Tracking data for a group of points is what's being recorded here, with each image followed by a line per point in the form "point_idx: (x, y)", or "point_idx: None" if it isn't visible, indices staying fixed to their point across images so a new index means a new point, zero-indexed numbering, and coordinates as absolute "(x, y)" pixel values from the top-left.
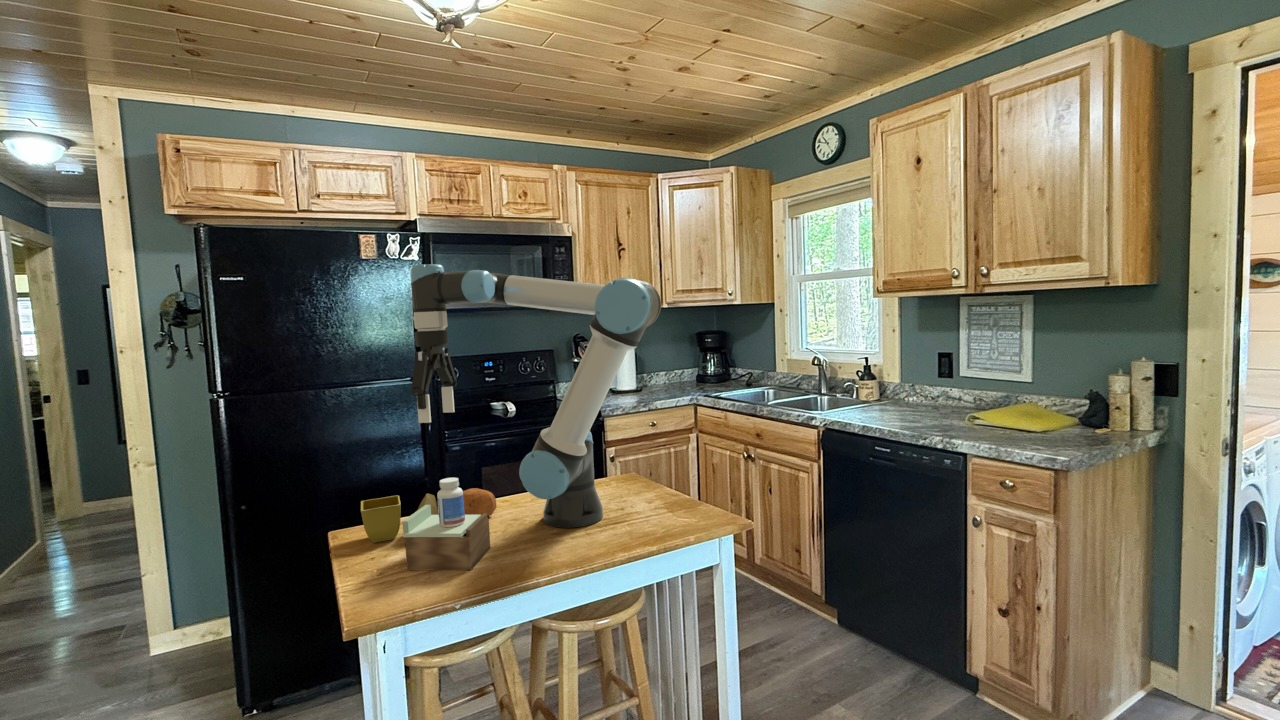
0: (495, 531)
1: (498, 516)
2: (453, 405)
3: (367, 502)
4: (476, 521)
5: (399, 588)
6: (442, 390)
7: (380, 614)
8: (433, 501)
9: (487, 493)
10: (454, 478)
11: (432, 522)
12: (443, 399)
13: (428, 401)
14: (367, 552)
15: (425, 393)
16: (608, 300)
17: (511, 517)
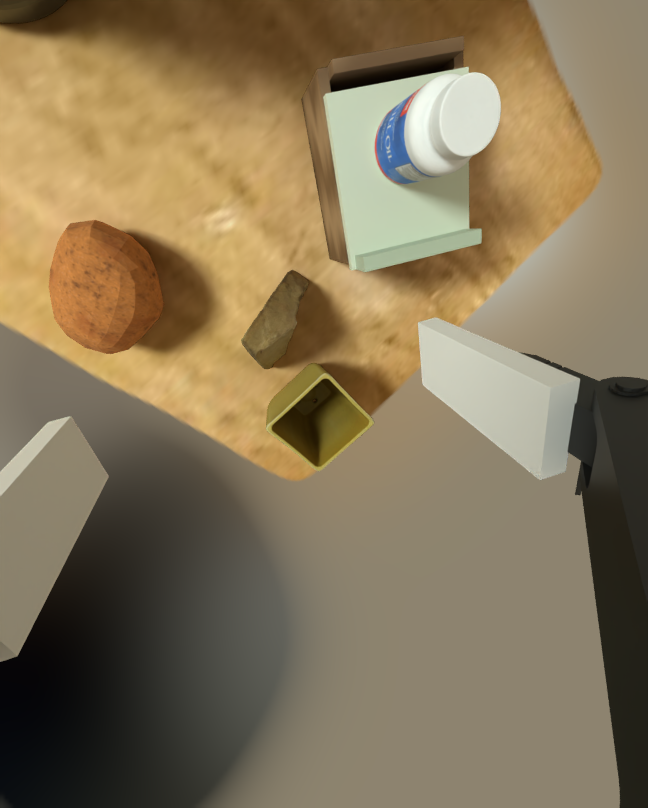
0: (197, 154)
1: (91, 215)
2: (35, 445)
3: (312, 461)
4: (401, 55)
5: (497, 193)
6: (31, 612)
7: (579, 157)
8: (261, 324)
9: (91, 239)
10: (453, 102)
11: (400, 215)
12: (68, 536)
13: (524, 359)
14: (369, 369)
15: (628, 382)
16: None
17: (79, 165)
